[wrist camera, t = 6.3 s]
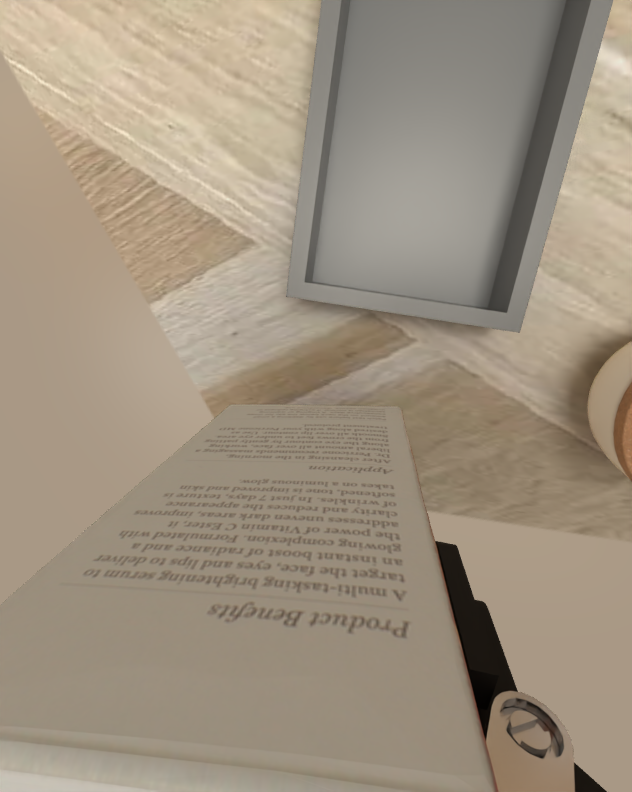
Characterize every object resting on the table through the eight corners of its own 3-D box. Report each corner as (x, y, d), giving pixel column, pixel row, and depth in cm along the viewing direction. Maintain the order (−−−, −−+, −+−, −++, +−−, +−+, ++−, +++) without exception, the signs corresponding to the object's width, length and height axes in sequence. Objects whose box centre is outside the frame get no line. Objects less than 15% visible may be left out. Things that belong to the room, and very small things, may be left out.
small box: (397, 617, 15) (456, 1312, 5) (244, 606, 16) (19, 1197, 6) (405, 399, 13) (538, 846, 3) (227, 397, 14) (-185, 749, 3)
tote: (598, -74, 23) (659, -164, 19) (494, 323, 30) (519, 332, 25) (348, -97, 24) (344, -188, 20) (298, 293, 31) (286, 296, 26)
